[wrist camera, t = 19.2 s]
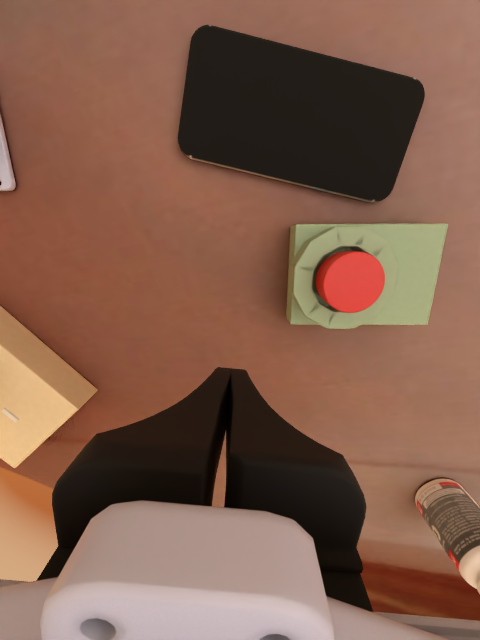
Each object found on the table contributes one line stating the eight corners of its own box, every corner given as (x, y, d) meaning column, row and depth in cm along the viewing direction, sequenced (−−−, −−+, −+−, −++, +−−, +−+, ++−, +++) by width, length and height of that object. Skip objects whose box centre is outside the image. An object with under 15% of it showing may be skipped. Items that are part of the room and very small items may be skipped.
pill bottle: (403, 499, 26) (472, 611, 18) (438, 469, 25) (528, 573, 17) (437, 520, 27) (517, 637, 19) (472, 491, 26) (574, 602, 18)
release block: (283, 316, 21) (291, 332, 18) (287, 226, 19) (297, 221, 16) (409, 317, 21) (446, 333, 17) (426, 225, 19) (471, 220, 15)
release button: (313, 306, 17) (320, 313, 16) (317, 250, 16) (325, 251, 15) (367, 306, 17) (380, 313, 16) (375, 250, 16) (390, 251, 15)
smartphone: (193, 18, 16) (431, 80, 16) (195, 28, 16) (424, 87, 17) (175, 154, 18) (387, 205, 18) (177, 157, 18) (382, 206, 19)
